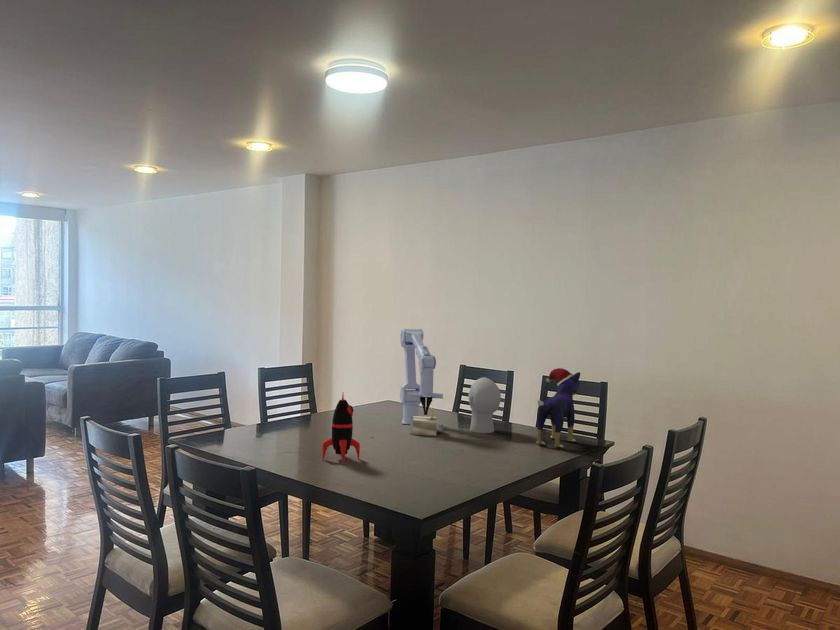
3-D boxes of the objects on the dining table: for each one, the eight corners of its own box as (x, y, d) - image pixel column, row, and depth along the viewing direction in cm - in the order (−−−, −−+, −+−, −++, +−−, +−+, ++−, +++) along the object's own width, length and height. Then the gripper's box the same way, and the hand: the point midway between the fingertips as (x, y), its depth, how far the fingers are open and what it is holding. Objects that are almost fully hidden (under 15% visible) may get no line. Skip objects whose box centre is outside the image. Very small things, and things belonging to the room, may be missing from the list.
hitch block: (412, 429, 277) (413, 415, 276) (435, 430, 277) (435, 416, 277) (412, 434, 267) (413, 420, 266) (436, 435, 267) (436, 421, 267)
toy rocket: (342, 464, 216) (344, 392, 215) (320, 459, 222) (322, 389, 221) (361, 459, 224) (363, 389, 224) (339, 454, 230) (341, 386, 229)
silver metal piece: (409, 430, 275) (410, 417, 275) (442, 431, 275) (442, 418, 275) (409, 433, 268) (410, 420, 268) (443, 434, 268) (443, 421, 268)
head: (488, 420, 293) (495, 371, 285) (500, 439, 277) (507, 388, 269) (458, 420, 290) (465, 371, 282) (469, 440, 273) (476, 388, 266)
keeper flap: (430, 416, 275) (430, 407, 275) (432, 416, 275) (432, 407, 275) (430, 419, 268) (431, 410, 268) (433, 419, 268) (433, 410, 268)
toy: (585, 437, 272) (587, 369, 271) (550, 455, 239) (553, 377, 238) (550, 432, 281) (552, 365, 280) (512, 448, 248) (515, 373, 247)
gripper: (409, 384, 267) (408, 415, 267) (443, 385, 267) (442, 416, 267) (409, 382, 274) (409, 412, 274) (442, 382, 274) (441, 413, 275)
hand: (425, 414), depth 271 cm, fingers closed
